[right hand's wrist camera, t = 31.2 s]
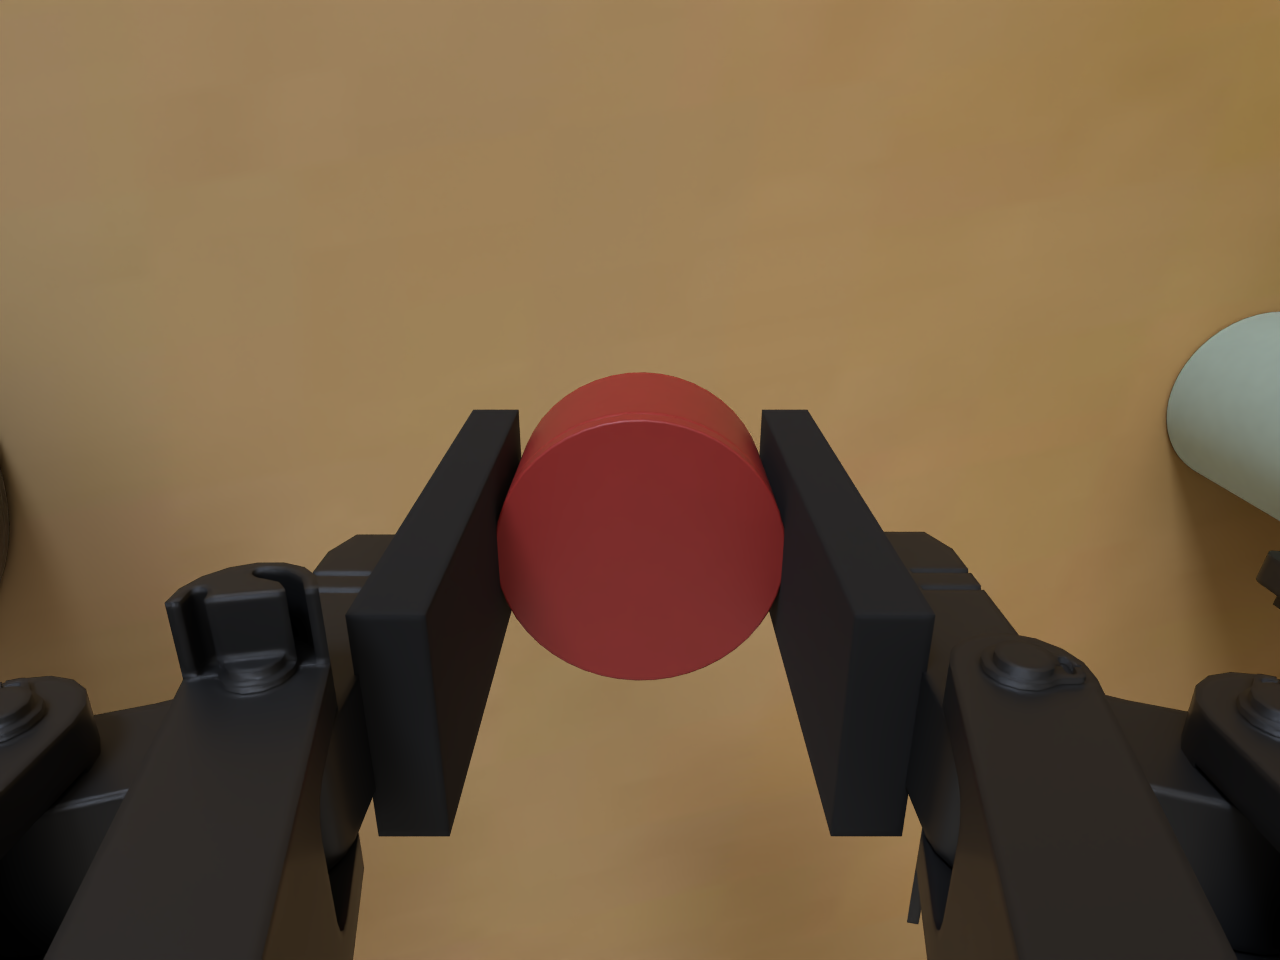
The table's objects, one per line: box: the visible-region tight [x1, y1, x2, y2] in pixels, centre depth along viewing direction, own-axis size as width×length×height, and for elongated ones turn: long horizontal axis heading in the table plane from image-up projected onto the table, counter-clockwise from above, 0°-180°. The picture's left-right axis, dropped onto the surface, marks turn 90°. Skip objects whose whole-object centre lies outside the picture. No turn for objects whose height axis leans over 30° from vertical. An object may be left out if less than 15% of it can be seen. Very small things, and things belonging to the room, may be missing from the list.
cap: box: [497, 372, 784, 680], centre depth 13 cm, size 4×4×3 cm
